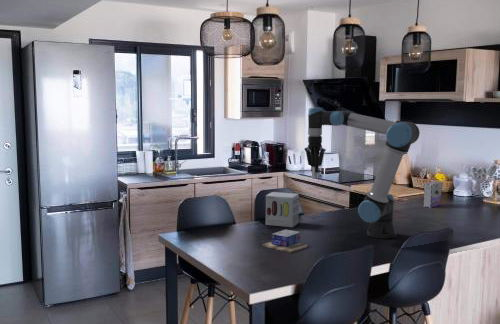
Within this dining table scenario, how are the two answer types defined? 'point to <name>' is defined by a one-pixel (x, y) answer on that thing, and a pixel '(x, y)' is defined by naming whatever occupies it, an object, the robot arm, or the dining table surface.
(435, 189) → the candy box
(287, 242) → the ink cartridge box
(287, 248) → the board
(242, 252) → the dining table surface
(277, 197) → the supplement box
